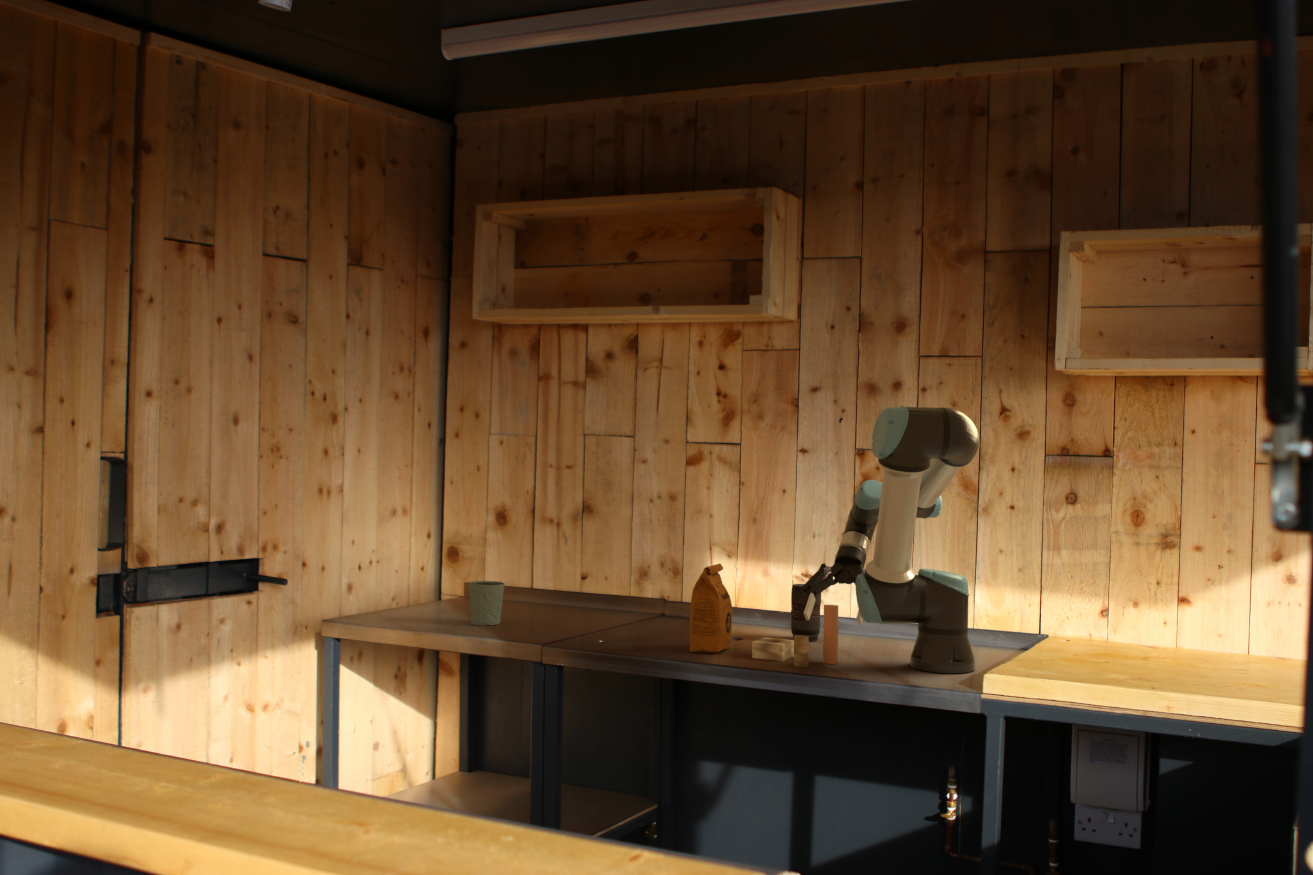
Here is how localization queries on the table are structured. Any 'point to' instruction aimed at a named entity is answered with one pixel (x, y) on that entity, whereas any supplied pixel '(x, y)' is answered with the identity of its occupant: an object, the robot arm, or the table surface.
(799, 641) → the short dowel
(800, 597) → the camera lens
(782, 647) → the collar block
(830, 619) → the long dowel
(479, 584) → the green plant pot
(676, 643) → the table surface
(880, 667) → the table surface
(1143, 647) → the table surface
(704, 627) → the coffee package
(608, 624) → the table surface
